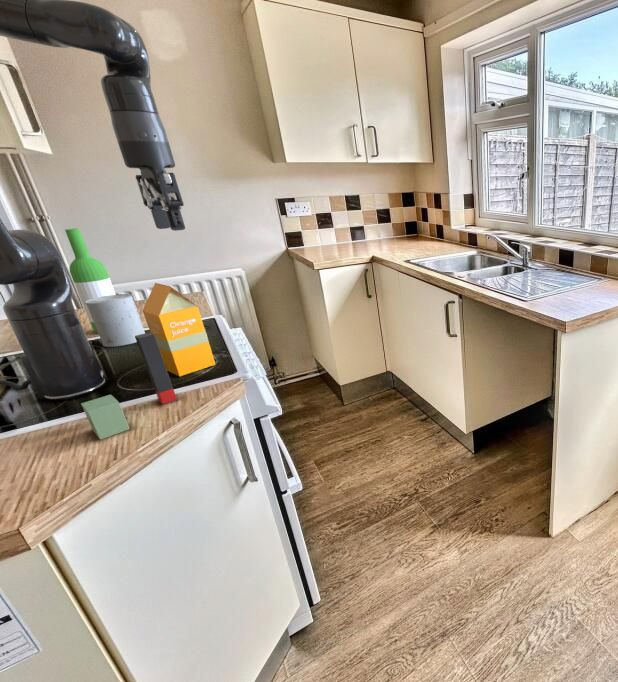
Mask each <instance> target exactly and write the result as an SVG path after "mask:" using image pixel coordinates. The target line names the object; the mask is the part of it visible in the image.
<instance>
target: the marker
mask: <svg viewBox="0 0 618 682" xmlns="http://www.w3.org/2000/svg"><path fill="white" fill-rule="evenodd" d="M135 339H136V341H137V342H136V344H137V346H138V349H139V352H140V355H141V357H142V360H143V363H144V365H145V368H146V370H147V373H148V376H149V378H150V381H151V384H152V387H153V390H154V392H155V394H156V397H157V400H158V402H159V403H161V404H162V405H165V404H168V403H171V402H174V401H177V400H178V397H177V394H176V392H175V390H174V387H173V384H172V381H171V378H170V375H169V373H168V372H169V371H167V369H166V367H165V364H164V361H163V358H162V355H161V353H160V350H159V347H158V344H157V341H156V339H155V336H154V334H152V333H150V331H149V332H145V334H141V335H136V336H135Z"/></svg>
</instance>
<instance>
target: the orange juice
mask: <svg viewBox="0 0 618 682" xmlns="http://www.w3.org/2000/svg"><path fill="white" fill-rule="evenodd" d="M142 313H143V317H144V319H145V322H146V324H147V327H148V329H149V332H150V333H152V334H154V336H155V339H156V341H157V344H158V347H159V350H160V353H161V355H162V358H163V361H164V364H165V367H166V369H167V372H170V373H171V374H174V375H175V376H178V377H183V376H185V375H189V374H191V373H194V372H197V371H201V370H203V369H207V368H210V367H212V366H215V365H216V361H215V357H214V353H213V351H212V347H211V345H210V341H209V337H208V335H207V330H206V329H205V325H204V322H203V318H202V316H201V312H200V310H199V306H198V305H197V304H196V303H194V302H193V301H191V300H190V299H189V298H187V297H186V296H184V295H183V294H182V293H180V292H179V291H177V290H176V289H175V288H174V287H172V286H170V285H166V284H163V283H162V284H161V283H158V282H154V283H153V286H152V288H151V291H150V292H149V296H148V297H147V300H146V301H145V305H144V307H143V309H142Z"/></svg>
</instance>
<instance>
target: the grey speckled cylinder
mask: <svg viewBox="0 0 618 682" xmlns="http://www.w3.org/2000/svg"><path fill="white" fill-rule="evenodd" d="M85 303H86V304H87V306H88V309H89V311H90V314H91V316H92V319H93V321H94V324H95V326H96V329H97V331H98V332H97V333H98V337H99V338H100V341H101V343H102V346H103V347H105V348H106V347H107V348H113V347H122V346H127V345H132V344H135V343H137V341H136V339H135V336H136V335H141V334H145V333H146V332H145V331H146V330H145V329H144V326H143V322H142V320H141V317H140V315H139V312H138V309H137V307H136V303H135V300H134V298H133V294H130V293H121V294H116V295H109V296H103V297H98V298H94V299H90V300H88V301H86V302H85Z"/></svg>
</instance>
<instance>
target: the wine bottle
mask: <svg viewBox="0 0 618 682" xmlns="http://www.w3.org/2000/svg"><path fill="white" fill-rule="evenodd" d="M64 231H65V234H66V236H67V239H68V242H69V244H70V247H71V250H72V252H73V254H74V257H75V258H74V259H73V260H72V261H71V263H70V264H69V269H68V270H69V273H70V276H71V279H72V282H73V284H74V287H75V289H76V292H77V294H78V297H79V299H80V301H81V304H82V306H83V309H84V311H85V313H86V317H87V318H88V322H89V323H90V325H91V329H92V330H93V332H95V333H98V331H97V329H96V326H95V324H94V321H93V319H92V316H91V314H90V311H89V309H88V306H87V304H86V303H85V302H86V301H88V300H90V299H94V298H98V297H103V296H109V295H117V294H116V291H115V288H114V285H113V284H112V281H111V278H110V276H109V273H108V271H107V270H108V269H107V268H106V266H105V264H103V263H102V261H100V260H98V259H96V258H95V257H92V256H91V255H90V252H89V249H88V247H87V244H86V242H85V239H84V237H83V235H82V233H81V230H80V228H78V227H77V228H65V229H64Z"/></svg>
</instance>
